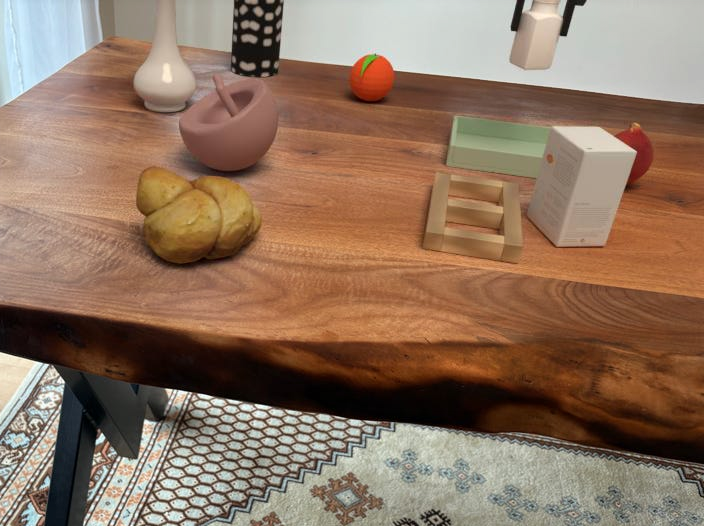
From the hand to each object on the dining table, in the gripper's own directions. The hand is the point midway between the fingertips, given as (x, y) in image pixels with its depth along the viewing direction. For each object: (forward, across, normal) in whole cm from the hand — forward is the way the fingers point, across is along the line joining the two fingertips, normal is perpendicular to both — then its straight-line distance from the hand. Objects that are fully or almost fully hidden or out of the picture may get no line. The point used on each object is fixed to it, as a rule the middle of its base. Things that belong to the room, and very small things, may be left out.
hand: (538, 31), depth 94 cm
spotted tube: (+16, -42, +28) cm, 53 cm away
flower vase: (+16, -49, +3) cm, 52 cm away
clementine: (+16, -21, +18) cm, 32 cm away
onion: (+16, +13, -5) cm, 22 cm away
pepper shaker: (+4, 0, 0) cm, 4 cm away
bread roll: (+16, -30, -40) cm, 52 cm away
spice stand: (+16, -4, -23) cm, 28 cm away
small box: (+16, +6, -22) cm, 28 cm away
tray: (+16, 0, 0) cm, 16 cm away
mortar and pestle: (+16, -34, -18) cm, 42 cm away
